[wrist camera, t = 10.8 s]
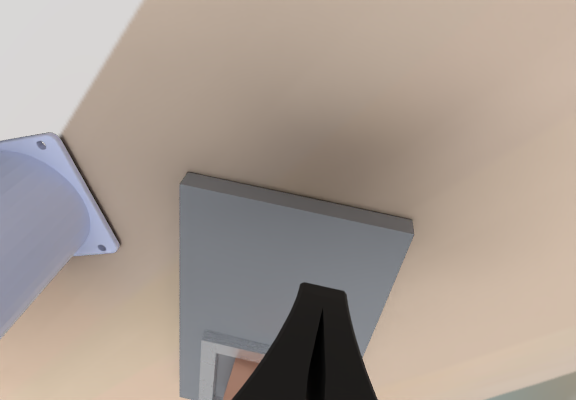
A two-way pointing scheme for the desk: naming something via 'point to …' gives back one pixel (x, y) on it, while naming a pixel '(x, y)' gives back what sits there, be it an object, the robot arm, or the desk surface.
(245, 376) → the block
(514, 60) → the desk surface
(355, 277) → the board
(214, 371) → the locating frame
